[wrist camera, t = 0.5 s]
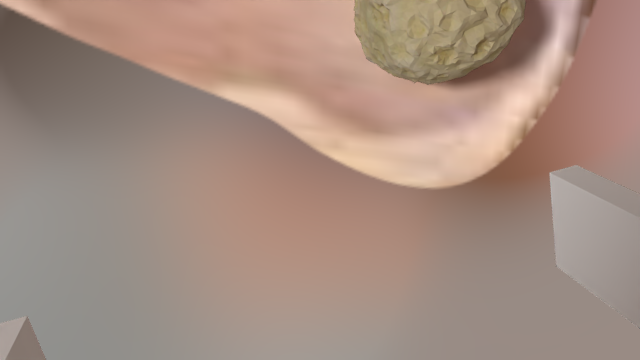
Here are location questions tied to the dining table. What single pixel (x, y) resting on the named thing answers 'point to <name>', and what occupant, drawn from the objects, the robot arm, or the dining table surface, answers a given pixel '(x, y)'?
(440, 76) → the decorative object
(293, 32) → the dining table surface
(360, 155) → the dining table surface
